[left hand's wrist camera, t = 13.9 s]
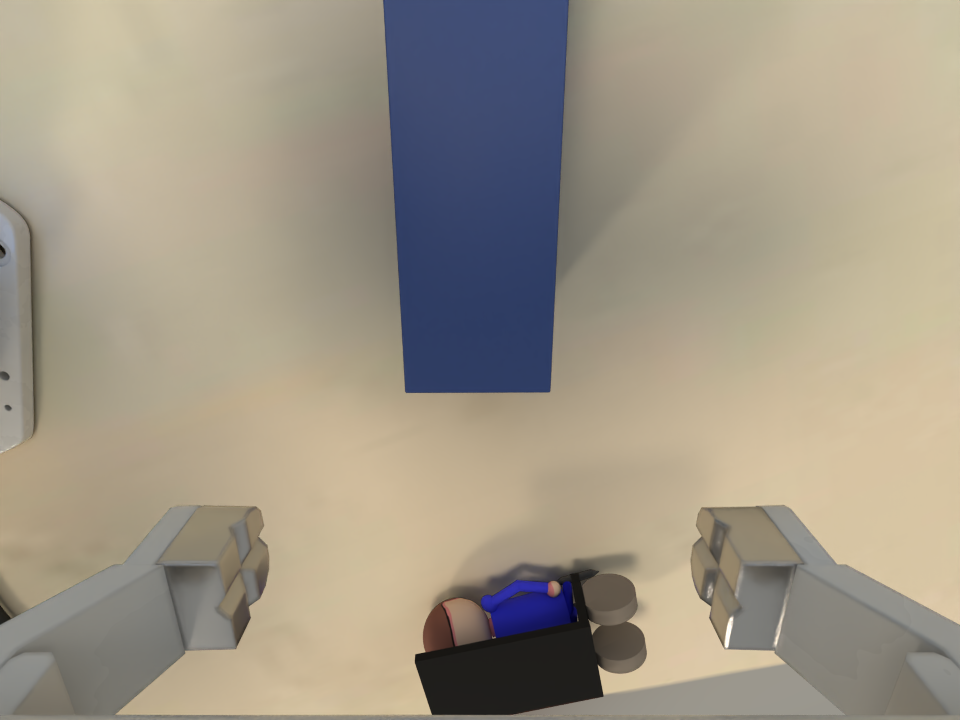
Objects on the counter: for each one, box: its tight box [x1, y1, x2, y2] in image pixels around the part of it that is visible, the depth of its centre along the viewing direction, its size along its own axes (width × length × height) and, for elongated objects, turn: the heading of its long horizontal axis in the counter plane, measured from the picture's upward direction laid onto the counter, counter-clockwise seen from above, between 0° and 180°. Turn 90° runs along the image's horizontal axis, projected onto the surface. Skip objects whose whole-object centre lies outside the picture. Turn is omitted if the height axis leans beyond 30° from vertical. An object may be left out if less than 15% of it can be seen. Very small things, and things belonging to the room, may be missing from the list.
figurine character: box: [415, 570, 647, 715], centre depth 40 cm, size 7×8×15 cm
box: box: [383, 0, 569, 393], centre depth 26 cm, size 23×6×11 cm, turn 0°
